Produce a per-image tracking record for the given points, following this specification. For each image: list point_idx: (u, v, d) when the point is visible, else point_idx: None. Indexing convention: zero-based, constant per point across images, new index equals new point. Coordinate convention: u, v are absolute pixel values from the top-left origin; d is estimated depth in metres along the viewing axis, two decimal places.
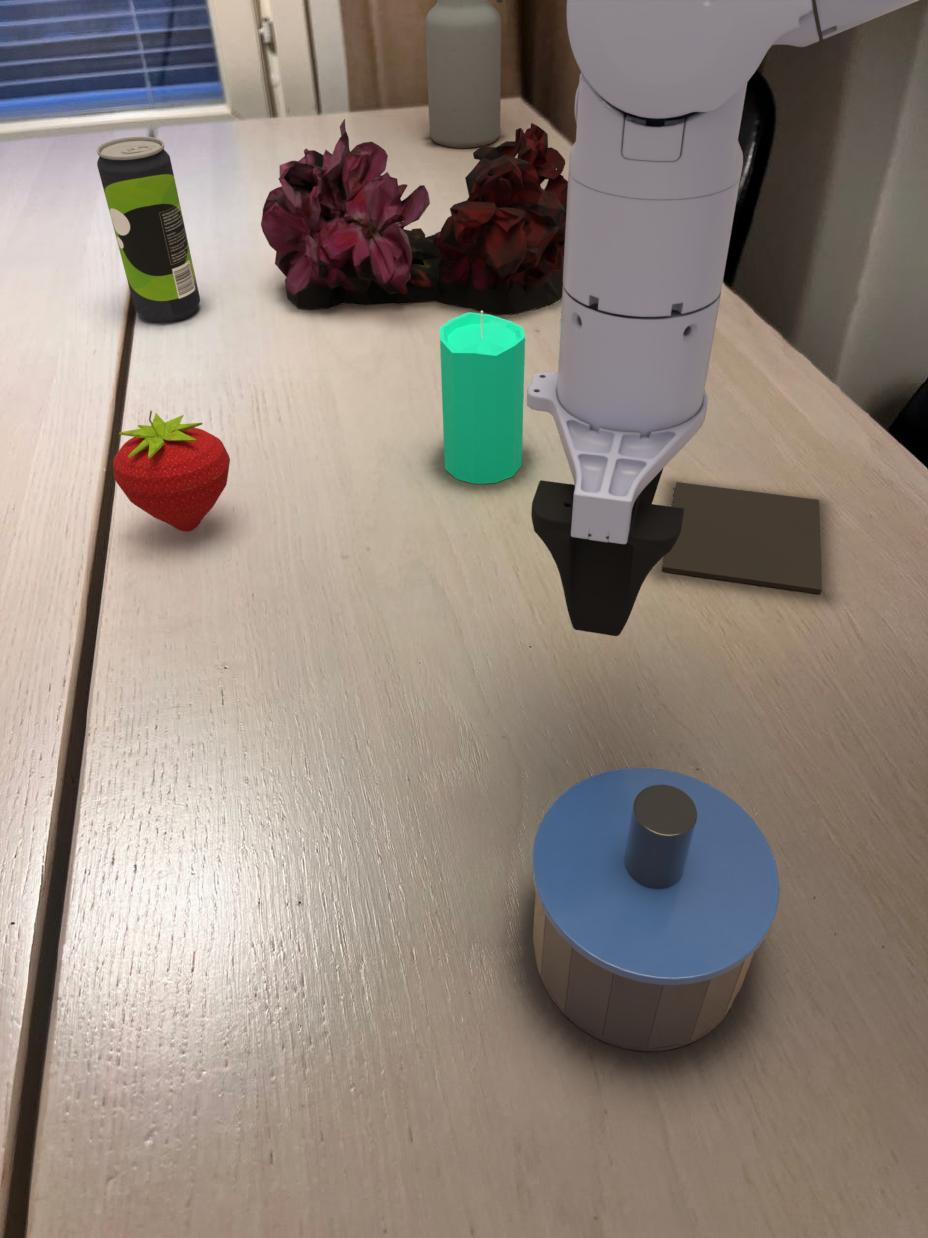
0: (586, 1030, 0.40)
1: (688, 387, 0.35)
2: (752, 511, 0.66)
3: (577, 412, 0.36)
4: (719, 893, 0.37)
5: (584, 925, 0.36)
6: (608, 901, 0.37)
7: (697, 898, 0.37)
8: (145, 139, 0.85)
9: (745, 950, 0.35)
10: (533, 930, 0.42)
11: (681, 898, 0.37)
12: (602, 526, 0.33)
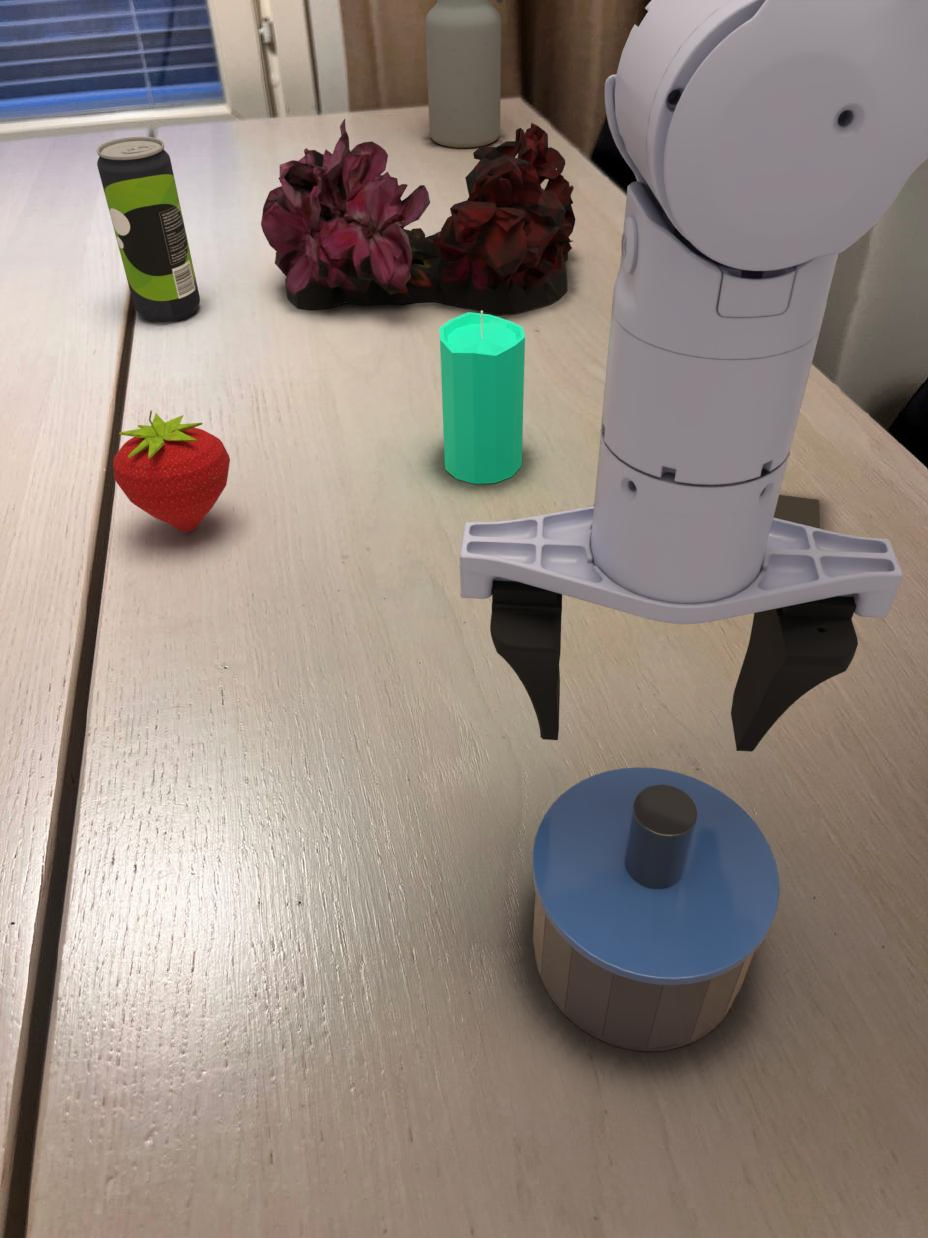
0: (586, 1030, 0.40)
1: (629, 552, 0.30)
2: None
3: None
4: (719, 893, 0.37)
5: (584, 925, 0.36)
6: (608, 901, 0.37)
7: (697, 898, 0.37)
8: (145, 139, 0.85)
9: (745, 950, 0.35)
10: (533, 930, 0.42)
11: (681, 898, 0.37)
12: None
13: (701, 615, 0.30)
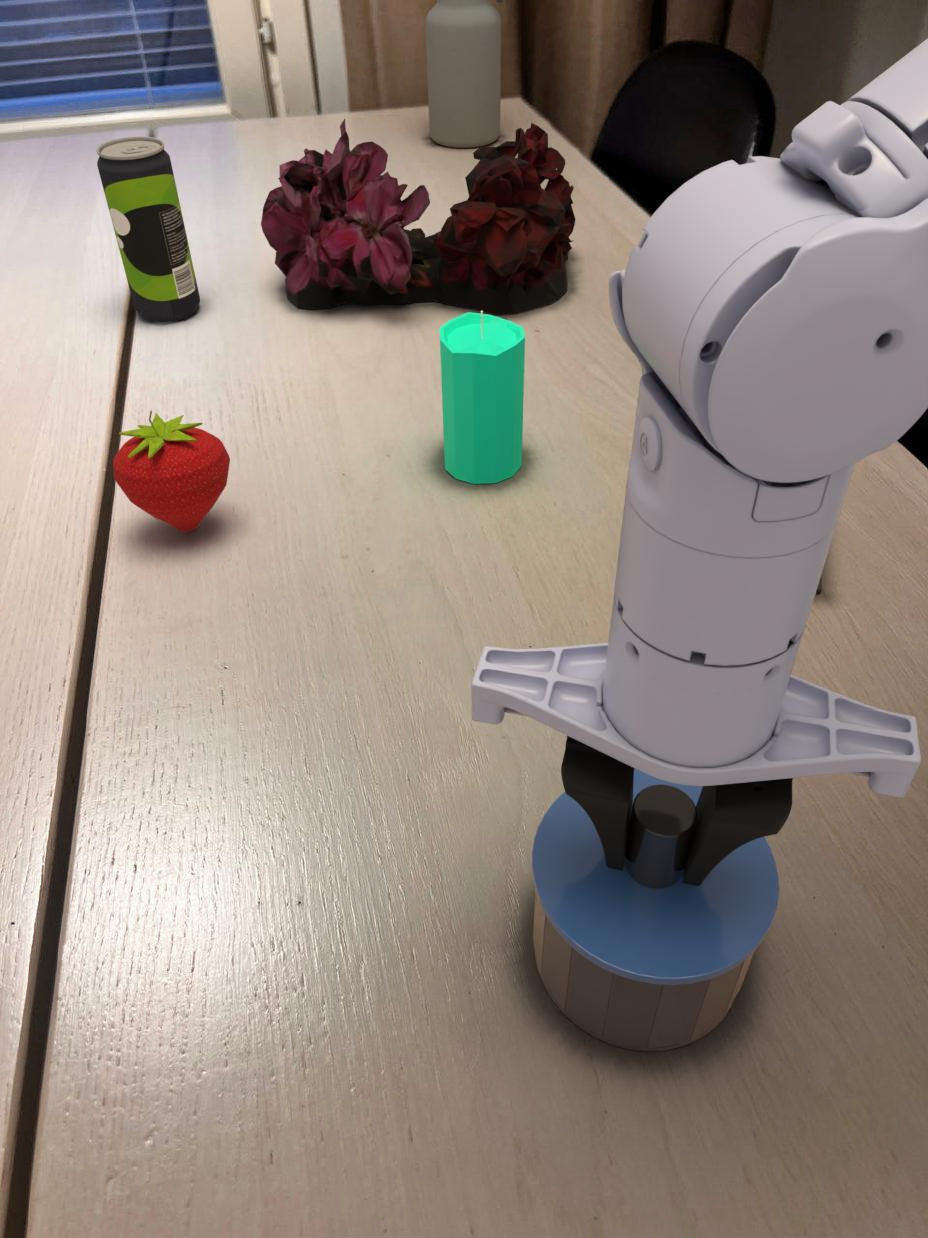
0: (586, 1030, 0.40)
1: (631, 709, 0.29)
2: None
3: None
4: (719, 893, 0.37)
5: (584, 925, 0.36)
6: (608, 901, 0.37)
7: (697, 898, 0.37)
8: (145, 139, 0.85)
9: (745, 950, 0.35)
10: (533, 930, 0.42)
11: (680, 898, 0.37)
12: None
13: (700, 779, 0.30)
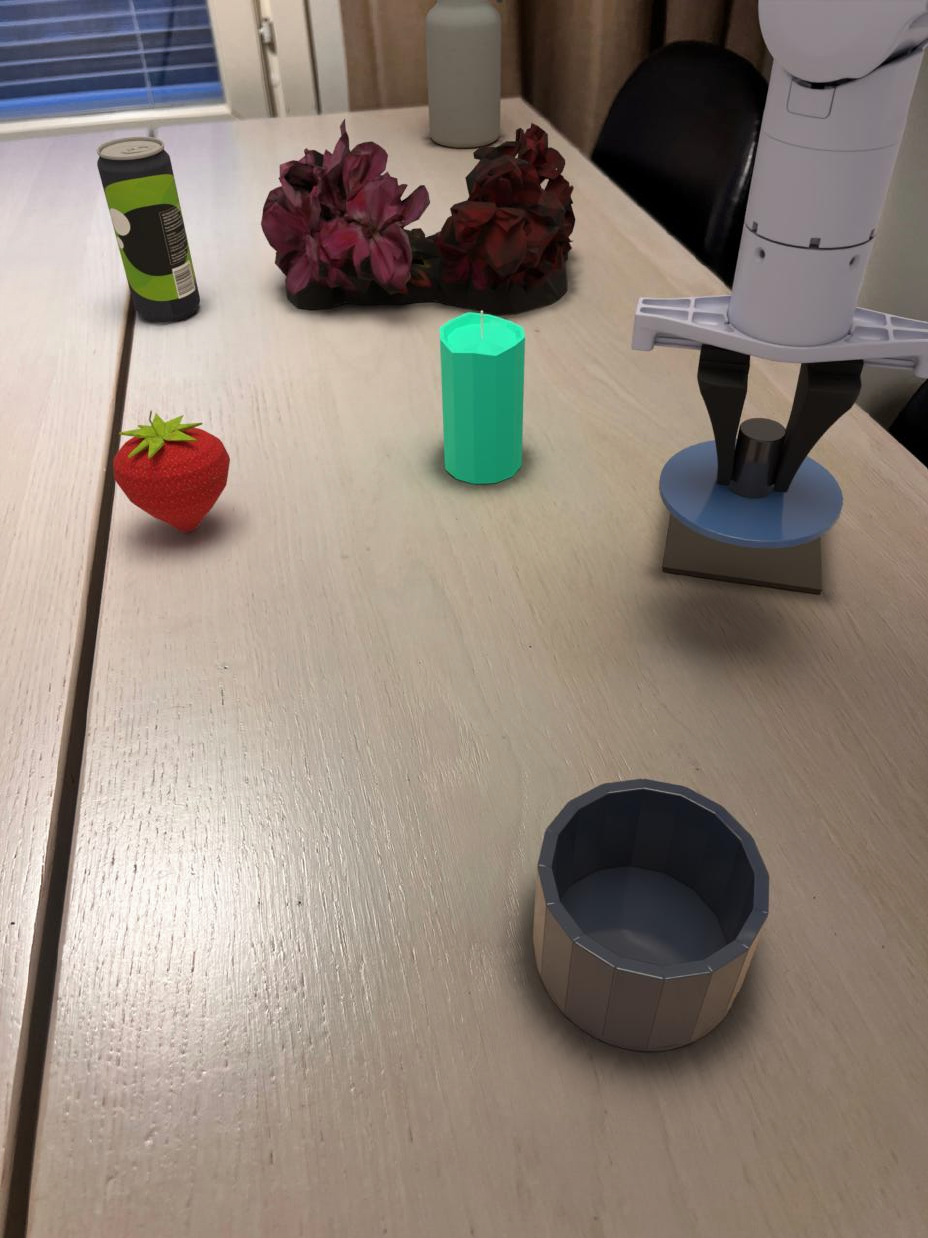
0: (586, 1030, 0.40)
1: (755, 305, 0.43)
2: None
3: None
4: (799, 500, 0.51)
5: (704, 516, 0.50)
6: (719, 505, 0.51)
7: (784, 502, 0.51)
8: (145, 139, 0.85)
9: (821, 527, 0.49)
10: (533, 930, 0.42)
11: (772, 503, 0.51)
12: None
13: (801, 355, 0.44)
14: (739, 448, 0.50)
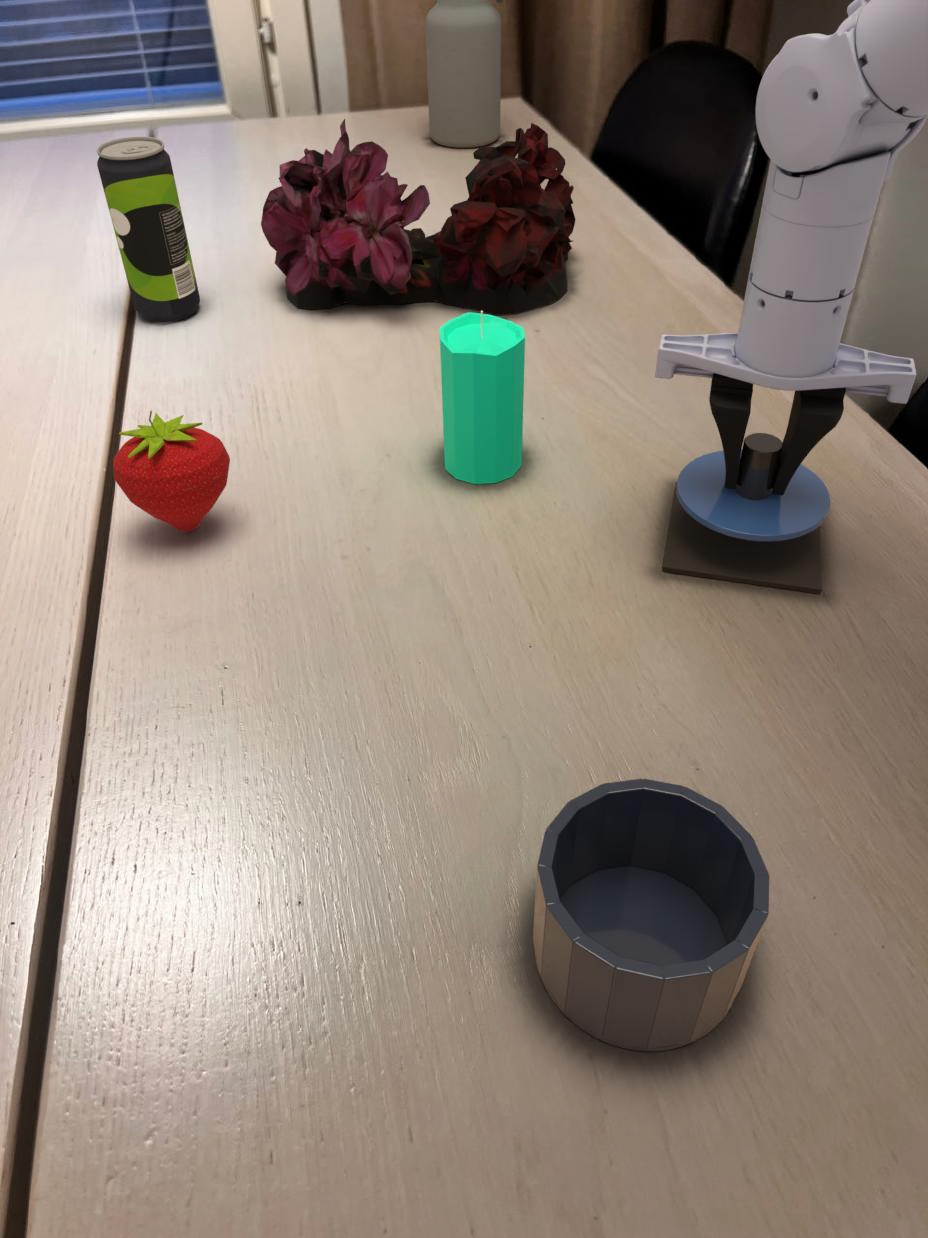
0: (586, 1030, 0.40)
1: (757, 344, 0.54)
2: None
3: None
4: (794, 501, 0.61)
5: (714, 515, 0.60)
6: (727, 505, 0.61)
7: (781, 503, 0.61)
8: (145, 139, 0.85)
9: (812, 523, 0.60)
10: (533, 930, 0.42)
11: (771, 504, 0.61)
12: None
13: (794, 384, 0.54)
14: (744, 458, 0.60)
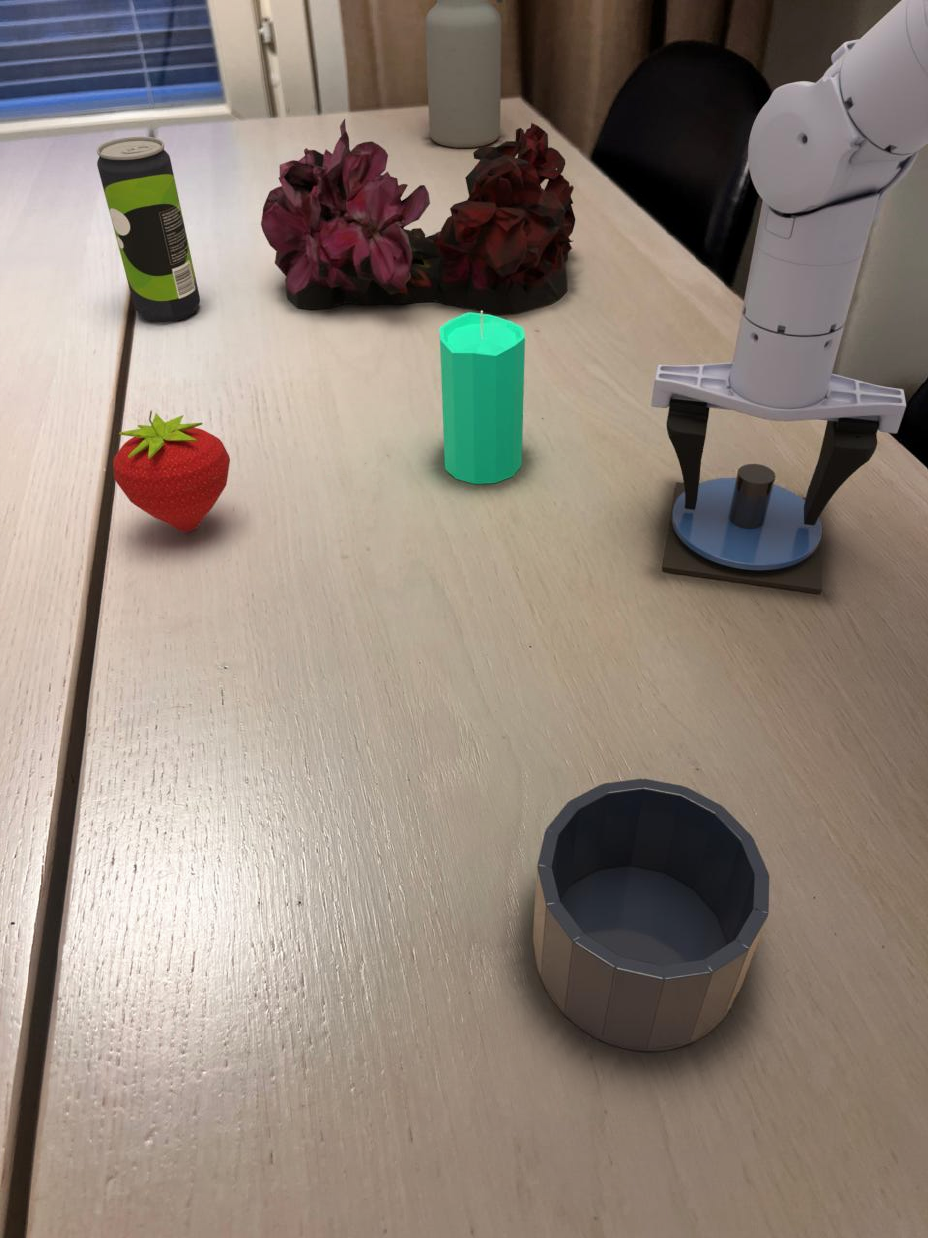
0: (586, 1030, 0.40)
1: (750, 376, 0.55)
2: None
3: None
4: (786, 530, 0.63)
5: (708, 544, 0.62)
6: (721, 534, 0.63)
7: (773, 532, 0.63)
8: (145, 139, 0.85)
9: (803, 553, 0.61)
10: (533, 930, 0.42)
11: (764, 533, 0.63)
12: None
13: (787, 415, 0.55)
14: (737, 488, 0.62)
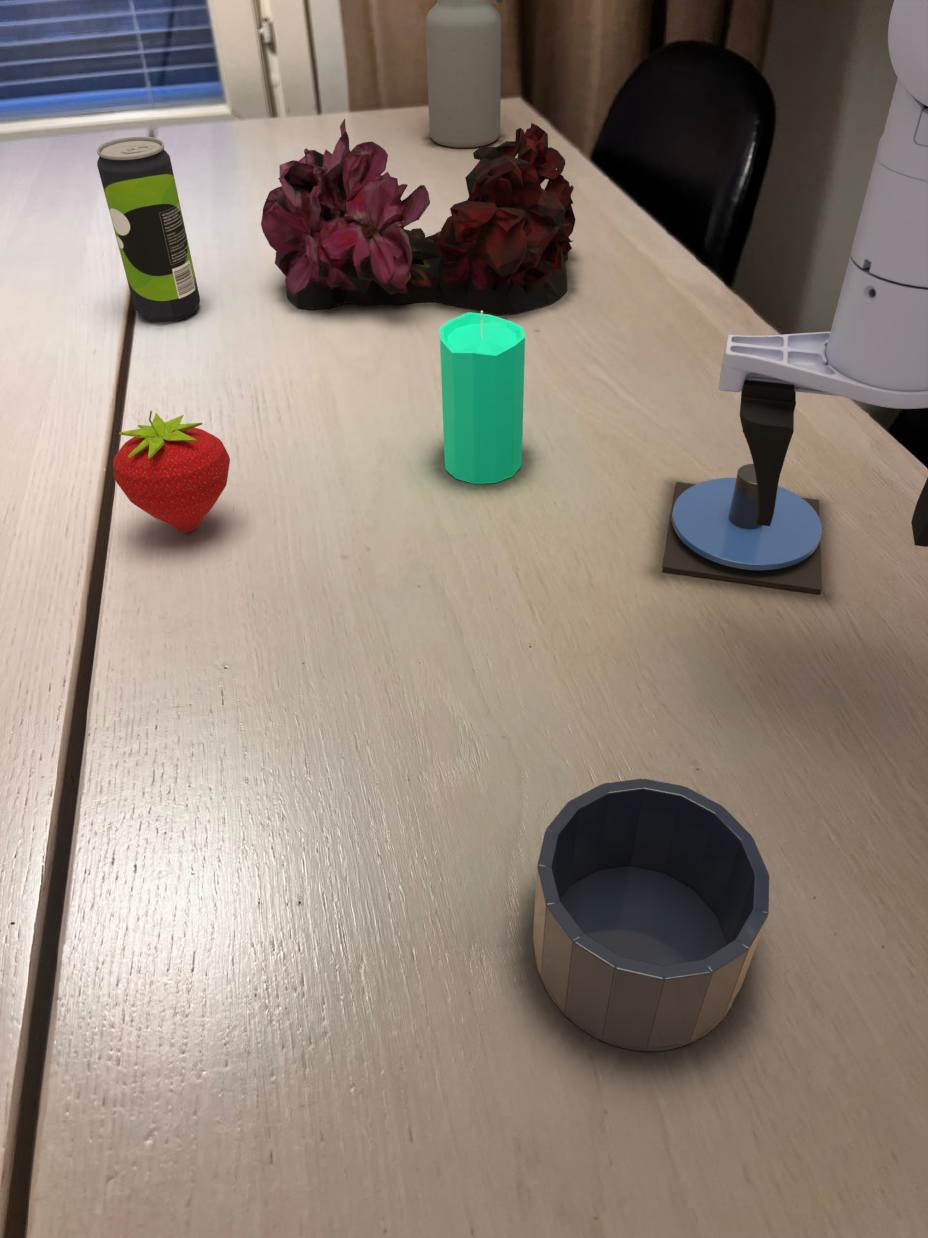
0: (586, 1030, 0.40)
1: (861, 347, 0.40)
2: None
3: None
4: (786, 530, 0.63)
5: (708, 544, 0.62)
6: (721, 534, 0.63)
7: (773, 532, 0.63)
8: (145, 139, 0.85)
9: (803, 553, 0.61)
10: (533, 930, 0.42)
11: (764, 533, 0.63)
12: None
13: (910, 401, 0.41)
14: (737, 488, 0.62)
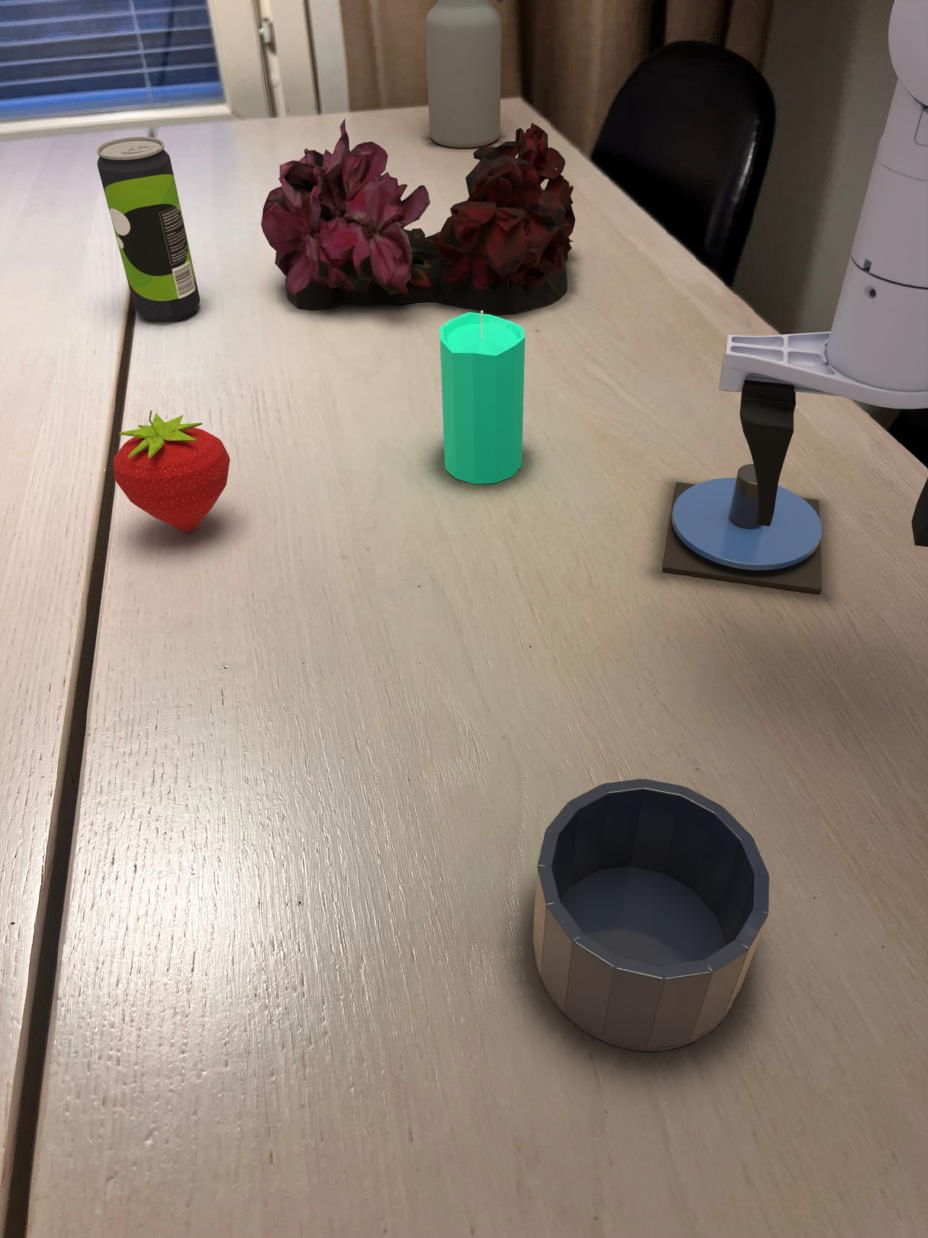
0: (586, 1030, 0.40)
1: (861, 347, 0.40)
2: None
3: None
4: (786, 530, 0.63)
5: (708, 544, 0.62)
6: (721, 534, 0.63)
7: (773, 532, 0.63)
8: (145, 139, 0.85)
9: (803, 553, 0.61)
10: (533, 930, 0.42)
11: (764, 533, 0.63)
12: None
13: (910, 401, 0.41)
14: (737, 488, 0.62)
